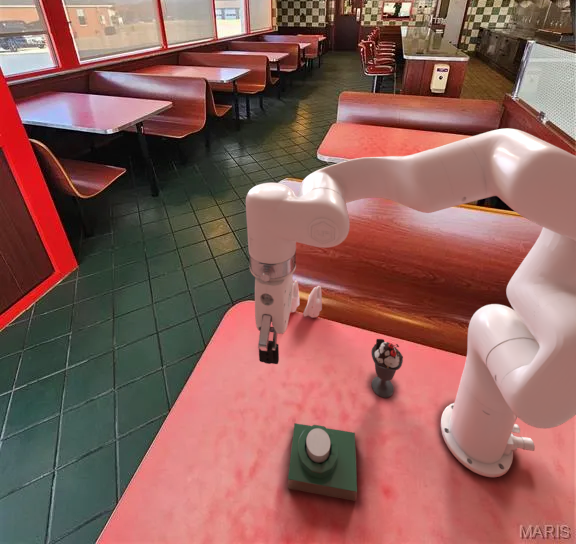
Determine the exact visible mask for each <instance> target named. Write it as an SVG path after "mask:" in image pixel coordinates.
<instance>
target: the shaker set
mask: <svg viewBox="0 0 576 544" xmlns="http://www.w3.org/2000/svg"><path fill="white" fill-rule="evenodd" d="M299 290H300V289H299V282H298V280H296V279H295V280H293V299H292V305H291V310H290V313H296V312H297V309H298V307H300V305H301V304H300V303H301V302H300V291H299ZM322 293H323V292H322V286H321V285H317V286H315V287H313V289H312V290H311V292H310V293H309V295H308V297H307V303H306V306H305V308H304V310H303V313H302V314H303V317H307V316H308V317H310V318H312V319H313V318H317V317H318V316H320V312H321V311H322V310H323V295H322Z"/></svg>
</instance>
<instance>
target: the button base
mask: <svg viewBox="0 0 576 544" xmlns="http://www.w3.org/2000/svg"><path fill="white" fill-rule="evenodd" d="M316 428H319V429H322V430H324V431H325V432H326V433H327V434H328V436H329V438H330V454H329V457H328V458H327V460H326V461H324V462H322V463H316V462H314V461H312V460H311V459H310V458H309V456H308V454H307V451H306V439H307V435H308V434H309V432H310V431H311V430H313V429H316ZM291 440H292V441H291V449H290V458H289V467H288V475H287V489H288V490H294V491H300V492H305V493H311V494H315V495H321V496H326V497H331V498H336V499H337V498H338V499H341V500H342V499H343V500H348V501H353V502H356V501H357V495H358V480H357V451H356V449H357V448H356V433H355V432H352V431H346V430H340V429H335V428H328V427H326V426H324V425H319V424H312V425H308V424H303V423H297V422H296V423H295V422H294V424H293V433H292V439H291Z"/></svg>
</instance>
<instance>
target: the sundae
mask: <svg viewBox="0 0 576 544" xmlns="http://www.w3.org/2000/svg"><path fill="white" fill-rule="evenodd" d="M398 348H400V346H399V344H398V343H396V344H393V343H392V342H388V341H385V339H383V338H376V340H375V343H374V344H373V347H372V348H371V351H370V352H371V358H372V361H373V363H374V369H375V373H376V376H375V377H374V378H373V379H372V380H371V388H372V391H373V393H375V394H376V395H377V396H379V397H380V398H384V399H387V398H390V397H392V396H393V394H394V391H395V389H394V388H395V387H394V384H393V382H392V380H393V378H394V377H395V375H396V371H398V370H399V369H401V368H402V365H403V363H404V360H403V359H404V356H403V354H402V353H401V351H400V350H399V349H398Z"/></svg>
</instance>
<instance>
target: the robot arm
mask: <svg viewBox="0 0 576 544" xmlns="http://www.w3.org/2000/svg"><path fill="white" fill-rule="evenodd" d="M297 191H298V192H297V195H296V193H295V192H294V190H293V189H292V188H291V187H290V186H288V185H287V184H284V183H280V182H263V183H259V184H256V185H255V186H253V187H252V188H251V189H249V190H248V192H247V194H246V196H245V214H246V215H245V216H246V231H247V232H246V233H247V246H248V247H247V248H248V249H247V250H248V260H249V261H248V263H249V265H248V266H249V271H250V273H251V275H252V276H253V277H254V319H255V320H254V321H255V326H256V329H257V330H258V332H259V336H258V343H257V349H258V360H259V362H260V363H264V364H268V365H271V364H272V365H278V364H279V362H280V351H279V343H278V334H280V335H283V334H285V333H286V332H287V329H288V325H289V320H290V314H291V312H290V310H291V305H292V299H293V283H294V275H293V274H294V273H295V271H296V268H297V243H298V244H299V243H300V244H302V245H306V246H310V247H314V248H326V249H327V248H333V247H337V246H339V245H340V244H342V243H343V242H344V241H345V240H346V239H347V237H348V235H349V233H350V227H351V225H350V223H351V221H350V216H349V211H348V207H347V204H348V203H351V202H354V201H359V200H363V199H372V198H373V199H374V198H375V199H385V200H388V201H393V202H395V203H398V204H401V205H402V206H405V207H407V208H409V209H412V210H415V211H417V212H420V213H424V214H431V213H435V212H438V211H442V210H446V209H450V208H453V207H457V206H461V205H465V204H468V203H472V202H476V201H479V200H480V201H481V200H483V199H488V198H492V197H497V198H499V199H500V200H501V201H502V202H503V203H504V204H506V206H508V208H510V209H511V210H512V211H514V212H515V213H516V214H518V215H519V216H521V217H523V218H524V219H526V220H528V221H530V222H532V223H534V224H536V225H538V226H540V227H542V228H541V231H540V233H539V235H538V237H537V239H536V241H535V242H534V244H533V246H532V247H531V249H530V250H529V251H528V253H527V254H526V255H525V257H524V259H523V260H522V262H521V263H520V264H519V266H518V268H517V269H516V270H515V272H514V274H513V275H512V276H511V278H510V279H509V281H508V283H507V285H506V289H505V292H506V294H505V295H506V298H507V300H508V302H509V304H510V305H511V307H509V306H507V305H504V304H500V303H491V304H486V305H484V306H481V307H480V308H478V309H477V310H476V311H475V312H474V313H473V315H472V316H471V318H470V321H469V324H468V327H467V328H468V329H467V345H466V346H467V347H466V348H467V351H466V358H465V362H464V365H463V370H462V373H461V377H460V381H459V384H458V389H457V391H456V396H455V399H454V402H453V403H450V404H449V405H447V406H446V407H445V408H444V410H443V412H442V414H441V417H440V431H441V435H442V438H443V440H444V442H445V444H446V446H447V449H448V450H449V451H450V452H451V454H452V455H453V456H454V457H455V459H456V460H458V462H459V463H461V464H462V465H463V466H464V467H465V468H467V469H468V470H470V471H471V472H473V473H475V474H477V475H480V476H483V477H487V478H497V477H502V476H503V475H505V474H506V473H508V471H509V470H510V468H511V466H512V464H513V459H514V451H517V450H518V449H521V450H525V451H529V452H530V451H531V452H535V451H536V450H535V449H536V447H535V446H536V445H535V443H534V441H533V439H532V438H531V437H527V436H526V437H525V436H515V435H514V434H521V428H520V426H519V424H516V422H517V419H518V420H520V421H521V422H523V423H524V424H525V425H527V426H530V427H533V428H535V429H544V430H545V429H552V428H556V427H558V426H561V425H563V424H566V423H567V422H569V421H570V420H571V419H573V418H574V417H575V416H576V155H575V154H573V153H571V152H568V151H567V150H564V149H562V148H561V147H558V146H556V145H554V144H552V143H549V142H548V141H545V140H543V139H541V138H539V137H537V136H535V135H532V134H531V133H528V132H526V131H523V130H520V129H517V128H499V129H494V130H493V129H492V130H490V131H486V132H483V133H479V134H476V135H472V136H470V137H466V138H463V139H459V140H456V141H453V142H450V143H447V144H444V145H440V146H437V147H434V148H429V149H426V150H423V151H420V152H416V153H413V154H408V155H401V156H399V155H388V156H387V155H386V156H366V157H359V158H358V157H357V158H352V159H348V160H345V161H341V162H338V163H334V164H331V165H327V166H325V167H322V168H320V169H317V170H315V171H313V172H311V173H310V174H308V175H307V176H306V177H305V178H303V180H302V181H301V183H300V185H299V187H298V190H297ZM271 333H273V334H272V340H269V339H270V334H271ZM513 433H514V434H513Z"/></svg>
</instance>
